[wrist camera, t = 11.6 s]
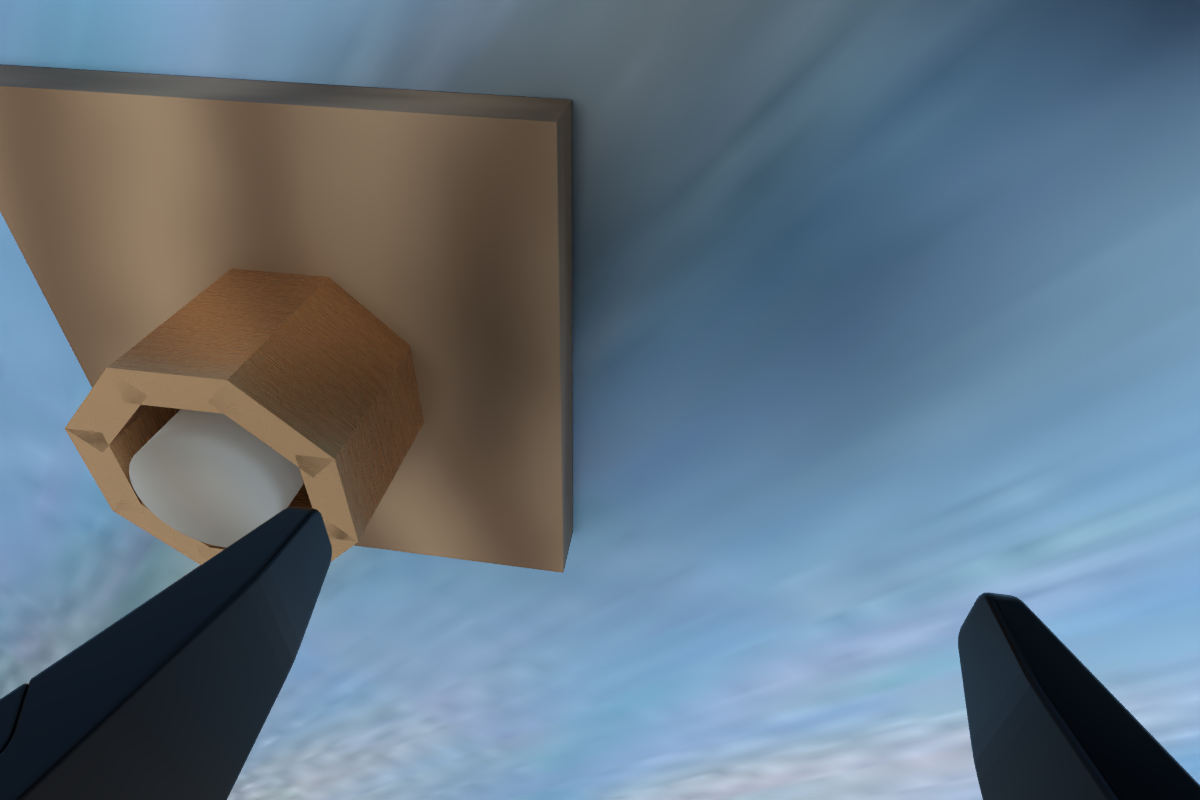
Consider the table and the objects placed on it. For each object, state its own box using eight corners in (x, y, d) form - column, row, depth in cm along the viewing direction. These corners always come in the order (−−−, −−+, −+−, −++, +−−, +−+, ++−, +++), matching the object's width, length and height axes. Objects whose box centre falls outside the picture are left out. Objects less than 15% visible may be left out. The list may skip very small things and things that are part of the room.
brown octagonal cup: (399, 283, 19) (314, 389, 15) (432, 470, 23) (372, 591, 19) (164, 262, 20) (24, 358, 16) (237, 447, 24) (141, 559, 20)
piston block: (571, 100, 17) (493, 215, 12) (572, 532, 27) (530, 715, 21) (-2, 64, 19) (-330, 149, 13) (192, 484, 29) (54, 642, 23)
